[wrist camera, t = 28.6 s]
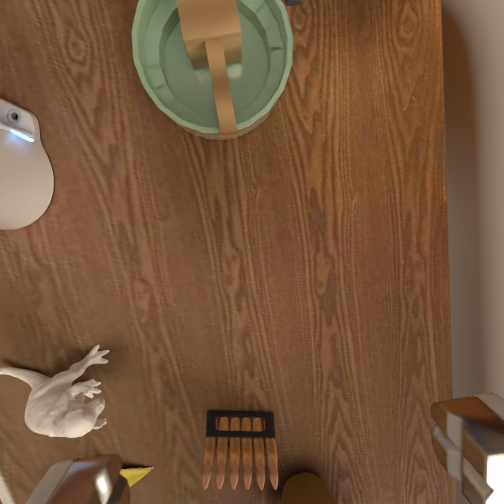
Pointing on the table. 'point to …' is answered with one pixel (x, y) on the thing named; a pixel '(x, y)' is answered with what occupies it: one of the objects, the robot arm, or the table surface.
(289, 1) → the nightstand
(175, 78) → the bowl
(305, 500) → the plant pot
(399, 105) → the table surface
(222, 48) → the mallet
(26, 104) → the table surface
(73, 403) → the dinosaur figurine
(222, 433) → the ammunition clip
